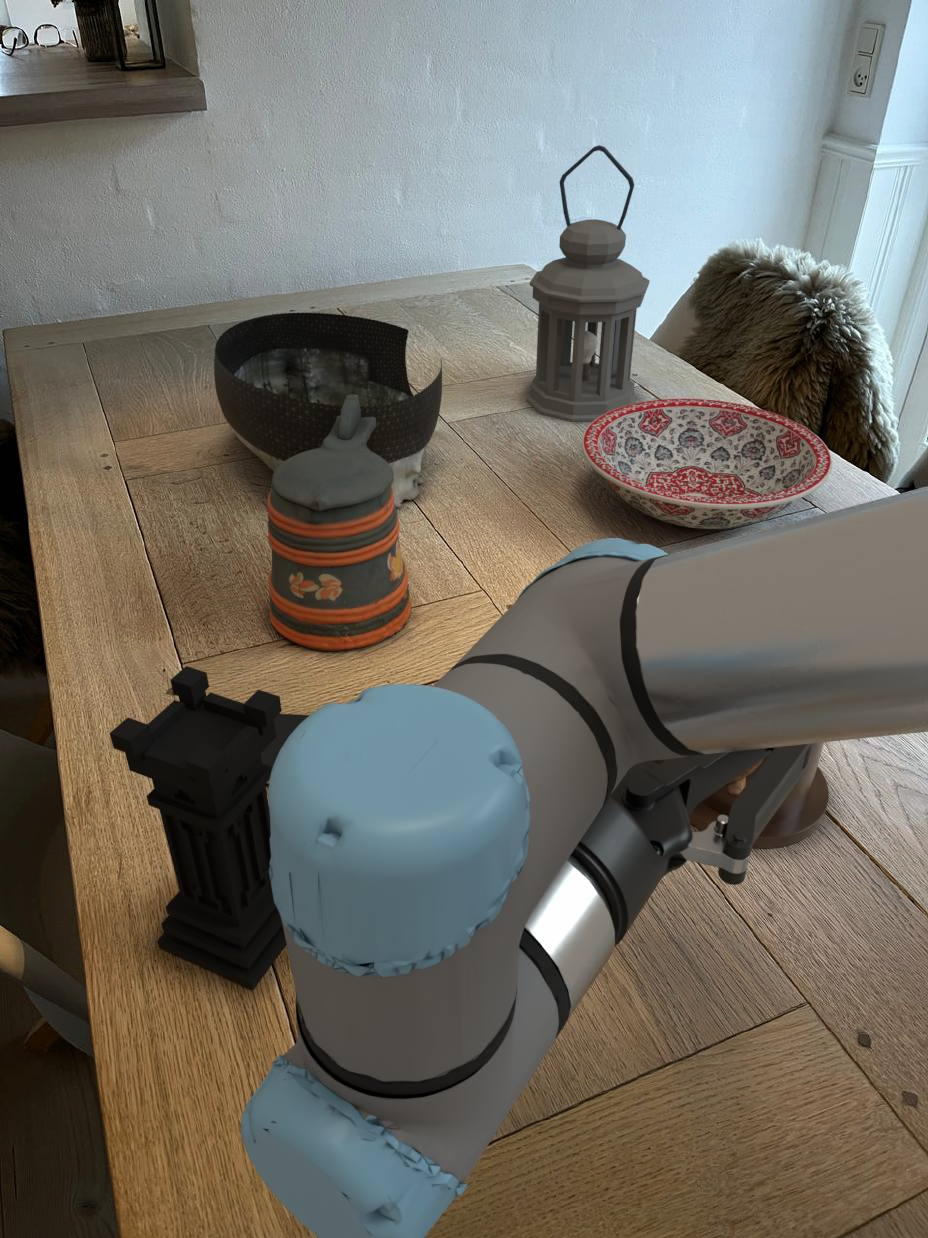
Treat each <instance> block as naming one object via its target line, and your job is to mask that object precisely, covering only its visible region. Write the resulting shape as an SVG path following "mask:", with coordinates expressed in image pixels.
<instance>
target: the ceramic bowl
mask: <svg viewBox="0 0 928 1238" xmlns="http://www.w3.org/2000/svg"><path fill="white" fill-rule="evenodd" d="M581 451H582V454H583V456H584V458H585V460H586V462H587V463H588V465H589V466H590V467H591V468H592V469H593V470H594V471H595V472H596V473H597V474H599V475H600V476H601V477H603V478H604V479H605V480H606V482H607V483H608V485H609V486H610V487H611V488H612V489H613V491H614V492H615V493H616V494H617V495H619V497H621V499H623V500H624V501H625V502H626V503H628V504H629V505H630V506H632V507H633V508H635V509H636V510H638V511H640V512H641V513H643V514H645V515H647V516H649V517H651V518H654V519H656V520H658V521H661V522H664V523H668V524H671V525H676V526H679V527H685V528H693V529H700V530H701V529H704V530H723V529H733V528H739V527H744V526H748V525H751V524H755V523H758V522H761V521H764V520H766V519H768V518H770V517H772V516H774V515H776V514H778V513H780V512H781V511H782V510H784V509H786V508H787V507H789V506H790V505H792V504H793V503H794V502H795V501H797V500H799V499H802V498H804V497H806V496H808V495H811V494H812V493H814V492H815V491H817V490H818V489H819V488H821V487H822V486H823V485H824V484H825V483H826V482H827V480H828V478H830V475H831V473H832V470H833V457H832V453H831V452H830V449H829V448H828V445H827V444H825V442H824V441H823V440H822V439H821V438H820V437H819V436H818V435H817V434H816V433H814V432H813V431H811V430H810V429H808V428H807V427H805V426H804V425H802V424H800V423H798V422H796V421H794V420H792V419H790V418H787V417H785V416H782V415H780V414H778V413H775V412H772V411H769V410H765V409H762V408H759V407H755V406H754V407H753V406H750V405H745V404H741V403H736V402H730V401H725V400H715V399H703V398H665V399H663V398H662V399H654V400H646V401H639V402H635V404H630V405H627V406H623V407H620V408H617V409H614V410H612V411H609V412H607V413H605V414H603V415H602V416H600V417H598V418H597V419H595V420H594V421H591V422H590V423H589V425H588V426H587V427H586V429H585V431H583V434H582V438H581Z"/></svg>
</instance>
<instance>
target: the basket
mask: <svg viewBox="0 0 928 1238" xmlns="http://www.w3.org/2000/svg"><path fill="white" fill-rule="evenodd" d="M409 332H410V331H409V330H408V328H405V327H402V326H398V325H396V324H393V323H390V322H386V321H381V320H378V319H377V320H376V319H371V318H367V317H363V316H362V317H361V316H353V315H348V314H347V315H346V314H337V313H329V312H328V313H327V312H326V313H325V312H283V313H282V312H281V313H275V314H274V313H273V314H267V315H261V316H256V317H253V318H250V319H247V320H243V321H241V322H238V323H237V324H235V325H233V326H231V327H229V328H228V329H226V330H225V331H224V332H222V334H221V335H220V336H219V337H218V339H217V341H216V342H215V348H214V356H213V357H214V358H213V364H214V365H213V375H214V376H213V377H214V385H215V392H216V396H217V400H218V404H219V408H220V410H221V412H222V415H223V417H224V418H225V421H226V423H227V425H228V427H229V428H230V429H231V431H232V432H233V433H234V435H235V436H236V437H237V438H238V440H239V441H240V442H241V443H242V444H243V445H244V446H246V447H247V448H248V449H249V450H250V451H251V452H252V453H253V454H254V455H256V456H257V457H258V458H259V459H260V460H261V461H262V462H263V463H265V464H266V465H267V466H268V468H269V469H271V470H272V471H273V473H274V472H275V470H276V469H277V467H278V466H279V465H281V464H282V463H283V462H284V461H286V460H287V459H289V458H291V457H293V456H295V455H297V454H300V453H302V452H305V451H309V450H312V449H317V448H320V447H321V446H322V443H323V440H324V439H325V438H326V437H327V436H328V435H329V433H330V432H331V430H332V428H333V426H334V424H335V422H336V419H337V416H340V415H341V410H342V406H343V404H344V401H345V398H346V396H347V395H353V394H354V395H357V396H358V398H359V405H360V412H361V417H362V418H363V417H375V418H376V428H375V429H374V430H373V431H372V433H371V435H370V437H369V439H368V441H367V443H366V444H367V448H368V449H369V450H370V451H372V452H374V453H375V454H377V455H379V456H380V457H382V458H383V459H384V460H385V461H387V462H388V463H389V464H390V466H391V467H392V470H393V474H394V476H393V478H394V481H393V484H392V488H393V495H394V499H395V506H396V509H398V508H400V507H402V504H401V503H403V501H404V500H408V501H410V500H415V499H416V498H417V497H418V496H419V494H420V491H421V490H420V487H419V484H422V485H423V484H424V483H426V480H425V478H424V477H422V476H420V475H419V474H420V473H421V469H422V465H421V463H422V458H423V457H424V454H425V451H426V449H427V447H428V445H429V443H430V441H431V439H432V437H433V434H434V432H435V430H436V427H437V424H438V420H439V416H440V413H441V412H440V411H441V406H442V405H441V404H442V398H443V397H442V396H443V395H442V394H443V363H442V360H440V369H439V372H438V374H437V375H436V377H435V378H434V379H433V380H432V381H431V383H429V385H427V386H426V387H425V388H423V390H421V391H418V393H415V394H414V393H413V391H412V389H411V386H410V383H409V382H410V381H409V378H408V371H407V360H406V358H407V357H406V355H407V354H406V353H407V350H406V349H407V341H408V338H409Z"/></svg>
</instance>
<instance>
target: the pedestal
mask: <svg viewBox="0 0 928 1238" xmlns="http://www.w3.org/2000/svg"><path fill="white" fill-rule="evenodd" d="M824 744H825V742H822V743H813V745H812V748H811V752H810V756H809V760H808V763H807V767H806V770H805V772H804V773H803V775H802V776H801V777H800V779H799V780H798V782H797V783H796V784H795V786H794V787H793V789H792V790H791V791H790V793H789V794H788V796H787V797H786V798H785V800H784V801H783V803H782V804H781V805H780V807H779V808H778V810H777V811H776V813H775V814H774V815H773V817H772V818H771V820H770V821H769V822H768V824H767V825H766V827H765V828H764V829H763V831H762V832H761V834H760V835H759V836H758V838H757V839H756V841H755V842H754V843H753V845H752V849H774V848H775V849H776V848H783V847H787V846H790V845H794V844H797V843H799V842H800V841H803V840H805V839H806V838H808V837H810V836H811V835H812V834H813V833H815V831H816V830H818V828H819V827H820V825H821V824H822V823H823V820H824V818H825V815H826V811H827V809H828V804H829V800H830V791H829V785H828V783H827V780H826V776H825V775H824V773H823V772H822V769H821V768H820V767H819V762H820V759H821V755H822V752H823V747H824ZM765 760H766V758H764V759H763V761H762V762H761V763H760V765H759V766H758V767H757V768H756V769H755V770H754V771H753V772H752V773H750V774H749V775H748V776H746V783H745V786H746V785H747V783H748V782H749V781H750V780H751V778H752V777H753V776H754V774H755V773H756V772H757V770H758V769H759V768H760V766H761V765H762V764H763V763H764V761H765ZM736 798H737V796H732V795H729V794H728V787H727V786H726V785H725V786H723V787H722V788H720V789H719V790H717V791H716V792H714V793H713V794H711V795H710V796H709V797H707V798H706V799H704V800H703V801H701V802H700V803H698V804H697V805H696V807H695V808H694V810H693V812H692V813H691V814H690V815H689V816H688V818H689V822H690V825H692V826H693V827H695V828H697V829H698V830H699V831H700V832H701V831H704V830H705V829H707V827H708V826H709V824H710V823H711V822H713V821H716V820H717V816H719V815H726V816H728V817H729V813H730V809H731V807H732V804H733V802H734V801H735V799H736Z"/></svg>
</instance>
